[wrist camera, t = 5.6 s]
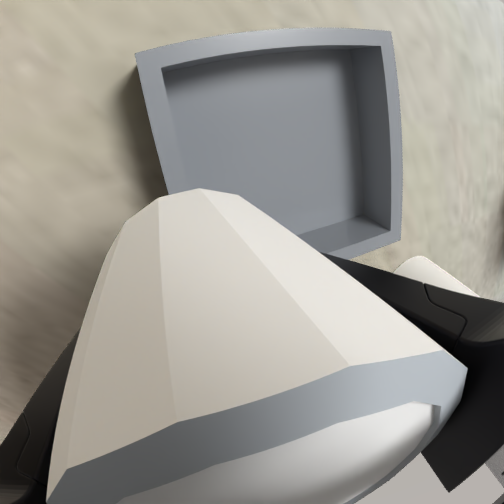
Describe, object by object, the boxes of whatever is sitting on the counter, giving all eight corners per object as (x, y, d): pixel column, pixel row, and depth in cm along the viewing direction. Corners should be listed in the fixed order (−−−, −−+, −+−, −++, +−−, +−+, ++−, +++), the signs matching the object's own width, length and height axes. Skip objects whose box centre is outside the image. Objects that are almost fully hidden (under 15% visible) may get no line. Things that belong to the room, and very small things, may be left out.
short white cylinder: (286, 346, 12) (378, 500, 6) (106, 368, 10) (122, 561, 4) (318, 167, 9) (532, 300, 3) (69, 172, 7) (-78, 405, 1)
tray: (368, 219, 24) (400, 239, 21) (193, 274, 22) (204, 309, 18) (352, 37, 17) (391, 31, 14) (137, 63, 15) (134, 53, 11)
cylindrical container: (410, 244, 27) (615, 418, 6) (440, 269, 31) (603, 412, 10) (368, 307, 29) (542, 502, 8) (403, 322, 32) (548, 478, 11)
